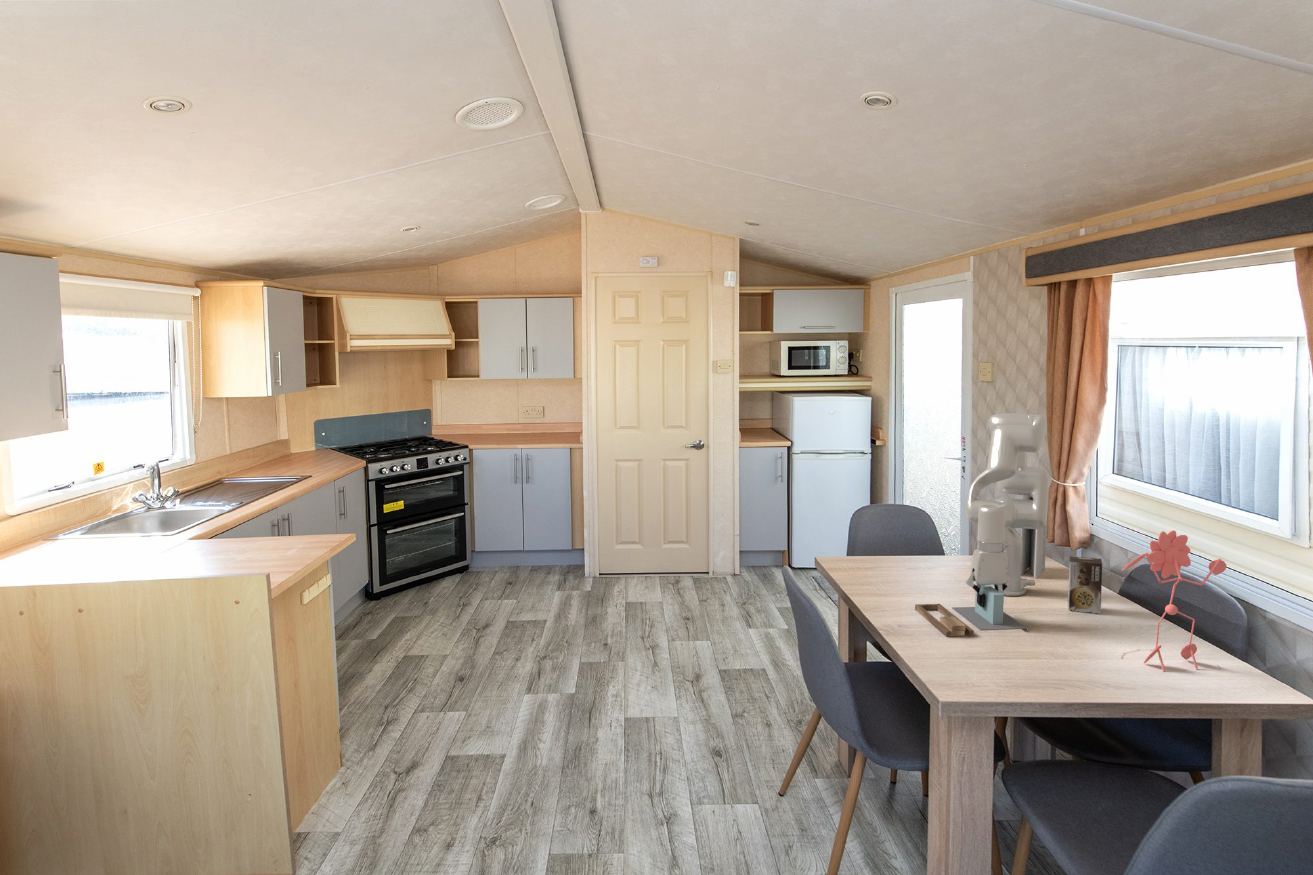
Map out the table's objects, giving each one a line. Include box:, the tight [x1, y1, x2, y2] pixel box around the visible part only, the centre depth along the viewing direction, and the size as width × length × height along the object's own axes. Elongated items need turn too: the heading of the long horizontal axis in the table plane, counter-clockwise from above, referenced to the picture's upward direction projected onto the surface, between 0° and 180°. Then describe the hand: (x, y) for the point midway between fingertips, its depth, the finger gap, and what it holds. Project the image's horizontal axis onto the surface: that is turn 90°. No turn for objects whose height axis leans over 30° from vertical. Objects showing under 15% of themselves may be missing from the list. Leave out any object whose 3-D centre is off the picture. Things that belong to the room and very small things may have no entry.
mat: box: [951, 606, 1028, 632], centre depth 248 cm, size 14×20×1 cm
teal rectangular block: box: [974, 582, 1005, 624], centre depth 248 cm, size 3×12×9 cm, turn 3°
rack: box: [914, 603, 975, 638], centre depth 245 cm, size 8×24×2 cm, turn 3°
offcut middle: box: [939, 621, 966, 637], centre depth 237 cm, size 4×8×2 cm, turn 3°
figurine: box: [1121, 530, 1227, 672], centre depth 215 cm, size 15×26×35 cm, turn 96°
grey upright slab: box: [1020, 495, 1048, 579], centre depth 297 cm, size 14×6×30 cm, turn 143°
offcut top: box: [939, 616, 966, 631], centre depth 237 cm, size 4×8×2 cm, turn 5°
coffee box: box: [1067, 556, 1104, 615], centre depth 256 cm, size 9×6×16 cm
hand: (988, 605), depth 248 cm, fingers open, 4 cm apart
